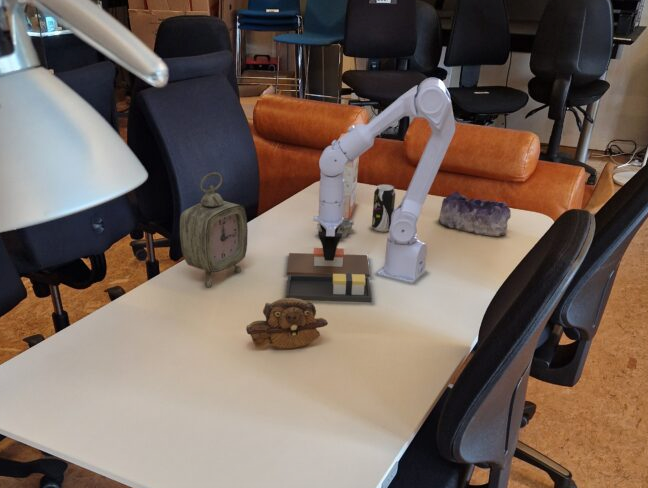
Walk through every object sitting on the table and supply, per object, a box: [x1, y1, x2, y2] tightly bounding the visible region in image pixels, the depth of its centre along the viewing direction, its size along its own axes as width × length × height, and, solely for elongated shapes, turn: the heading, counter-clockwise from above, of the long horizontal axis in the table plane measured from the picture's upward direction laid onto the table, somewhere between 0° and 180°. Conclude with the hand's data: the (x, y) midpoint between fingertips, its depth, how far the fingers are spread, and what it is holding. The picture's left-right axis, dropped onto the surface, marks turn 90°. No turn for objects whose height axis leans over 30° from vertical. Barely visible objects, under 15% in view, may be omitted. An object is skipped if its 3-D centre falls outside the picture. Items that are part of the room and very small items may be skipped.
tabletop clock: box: [179, 172, 249, 288], centre depth 167 cm, size 14×9×25 cm, turn 143°
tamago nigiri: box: [333, 273, 366, 295], centre depth 167 cm, size 7×4×4 cm, turn 87°
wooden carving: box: [245, 297, 329, 350], centre depth 144 cm, size 16×5×10 cm, turn 105°
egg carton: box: [316, 218, 355, 242], centre depth 198 cm, size 11×8×4 cm
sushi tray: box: [285, 275, 372, 303], centre depth 168 cm, size 19×11×2 cm, turn 87°
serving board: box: [286, 252, 371, 279], centre depth 179 cm, size 20×12×1 cm, turn 87°
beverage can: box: [371, 183, 396, 233], centre depth 199 cm, size 6×6×12 cm
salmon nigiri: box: [313, 247, 345, 267], centre depth 178 cm, size 7×4×3 cm, turn 87°
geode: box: [437, 190, 512, 237], centre depth 201 cm, size 20×12×10 cm, turn 64°
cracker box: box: [338, 133, 360, 220], centre depth 209 cm, size 14×6×21 cm, turn 168°
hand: (329, 254), depth 178 cm, fingers open, 7 cm apart
